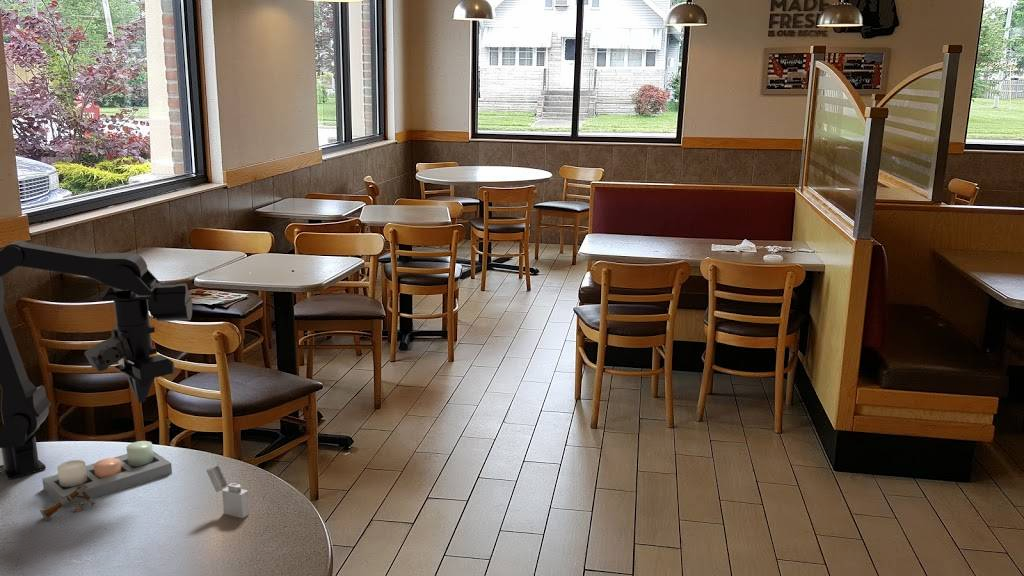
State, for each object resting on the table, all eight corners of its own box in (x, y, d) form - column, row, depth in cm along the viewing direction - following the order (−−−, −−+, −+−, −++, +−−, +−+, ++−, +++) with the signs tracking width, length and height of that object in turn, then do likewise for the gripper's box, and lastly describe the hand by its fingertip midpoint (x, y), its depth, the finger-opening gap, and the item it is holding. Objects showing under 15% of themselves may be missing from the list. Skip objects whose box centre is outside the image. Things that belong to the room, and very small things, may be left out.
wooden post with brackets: (100, 502, 149) (86, 482, 147) (56, 532, 146) (40, 513, 144) (98, 498, 151) (84, 479, 149) (53, 528, 147) (38, 509, 145)
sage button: (124, 460, 163) (122, 445, 162) (147, 453, 166) (145, 439, 165) (134, 467, 160) (132, 452, 159) (157, 460, 163) (156, 445, 162)
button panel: (43, 488, 156) (42, 478, 155) (148, 457, 169) (147, 447, 169) (64, 507, 149) (62, 496, 149) (172, 472, 162) (171, 463, 162)
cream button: (55, 481, 154) (53, 465, 154) (81, 473, 157) (79, 458, 157) (64, 489, 151) (62, 473, 151) (91, 481, 154) (89, 465, 154)
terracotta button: (91, 478, 159) (89, 463, 158) (116, 471, 162) (114, 456, 161) (101, 486, 156) (99, 470, 155) (126, 478, 159) (124, 463, 158)
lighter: (249, 513, 147) (246, 469, 145) (243, 518, 146) (239, 474, 144) (216, 506, 150) (212, 462, 148) (209, 510, 148) (205, 466, 146)
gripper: (68, 321, 162) (77, 400, 165) (108, 341, 149) (118, 427, 153) (128, 310, 169) (136, 386, 173) (171, 328, 157) (179, 410, 160)
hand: (141, 402), depth 165 cm, fingers closed
